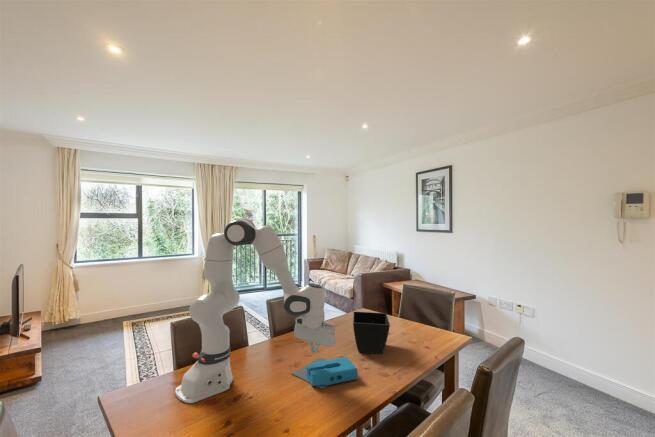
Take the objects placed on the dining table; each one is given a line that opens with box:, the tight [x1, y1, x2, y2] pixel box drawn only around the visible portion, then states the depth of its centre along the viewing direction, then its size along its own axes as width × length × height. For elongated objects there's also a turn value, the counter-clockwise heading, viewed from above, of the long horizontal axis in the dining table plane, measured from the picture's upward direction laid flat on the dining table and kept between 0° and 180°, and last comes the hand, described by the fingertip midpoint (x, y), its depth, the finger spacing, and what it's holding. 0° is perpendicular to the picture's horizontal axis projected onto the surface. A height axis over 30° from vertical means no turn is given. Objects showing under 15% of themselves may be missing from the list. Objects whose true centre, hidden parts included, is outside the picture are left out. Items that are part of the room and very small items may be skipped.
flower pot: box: [352, 311, 391, 355], centre depth 157 cm, size 19×19×17 cm
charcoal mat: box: [291, 356, 329, 390], centre depth 131 cm, size 20×18×1 cm
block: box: [307, 356, 358, 387], centre depth 126 cm, size 12×5×20 cm
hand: (314, 351), depth 128 cm, fingers closed
